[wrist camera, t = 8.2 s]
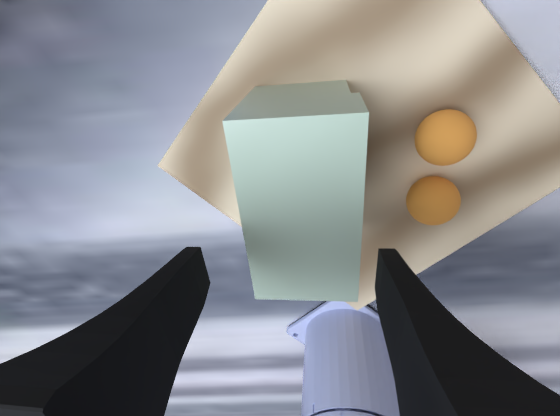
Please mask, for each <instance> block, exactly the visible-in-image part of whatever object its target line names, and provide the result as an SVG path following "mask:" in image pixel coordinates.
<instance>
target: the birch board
mask: <svg viewBox="0 0 560 416" xmlns="http://www.w3.org/2000/svg"><path fill="white" fill-rule="evenodd" d="M336 80H346V81H347V84H348V87H349V90H350V92H351V93H358V92H360V94H361V96H362V99H363V101H364V103H365V105H366V107H367V109H368V111H369V122H368V139H367V156H366V173H365V191H364V208H363V225H362V242H361V260H360V277H359V294H358V302H346V303H347V304H349V305H350V306H352V307H353V308H354V309H356V310H357V311H358V310H359V309H361V308H362V307H364V306H366V305H367V304H369V303H371V302H372V301H374V300H376V294H375V278H376V268H377V258H378V248H391V249H396V250H397V251H398V252H399V254H400V255H401V256H402V258H403V259H404V260H405V262H406V263H407V264H408V266H409V267H410V268H411V270H412V271H413V272H414V273H415V275H417V274H418V273H420V272H422V271H423V270H425V269H427V268H428V267H430V266H432V265H433V264H435V263H436V262H438V261H440V260H441V259H443V258H445V257H446V256H448V255H450V254H451V253H453V252H455V251H456V250H458V249H459V248H461V247H463V246H464V245H466V244H468V243H469V242H471V241H473V240H474V239H476V238H478V237H479V236H481V235H482V234H484V233H486V232H487V231H489V230H491V229H492V228H494V227H496V226H497V225H499V224H501V223H502V222H504V221H506V220H507V219H509V218H510V217H512V216H514V215H515V214H517V213H519V212H520V211H522V210H524V209H525V208H527V207H529V206H530V205H532V204H533V203H535V202H537V201H538V200H540V199H542V198H543V197H545V196H547V195H548V194H550V193H552V192H553V191H555V190H556V189H558V188H560V103H559V102H558V101H557V99H556V98H555V97H554V95H553V94H552V93H551V91H550V90H549V89H548V88H547V86H546V85H545V84H544V82H543V81H542V80H541V79H540V77H539V76H538V75H537V73H536V72H535V71H534V70H533V68H532V67H531V66H530V64H529V63H528V62H527V60H526V59H525V58H524V57H523V55H522V54H521V53H520V51H519V50H518V49H517V48H516V46H515V45H514V44H513V42H512V41H511V40H510V39H509V37H508V36H507V35H506V33H505V32H504V31H503V30H502V28H501V27H500V26H499V24H498V23H497V22H496V20H495V19H494V18H493V17H492V15H491V14H490V13H489V11H488V10H487V9H486V8H485V6H484V5H483V4H482V2H481V1H480V0H268V1H267V3H266V4H265V6H264V7H263V9H262V10H261V12H260V13H259V15H258V16H257V18H256V19H255V21H254V22H253V24H252V25H251V27H250V28H249V30H248V31H247V33H246V34H245V36H244V37H243V39H242V40H241V42H240V43H239V45H238V46H237V48H236V49H235V51H234V52H233V54H232V55H231V56H230V58H229V59H228V61H227V62H226V64H225V65H224V67H223V68H222V70H221V71H220V73H219V74H218V76H217V77H216V79H215V80H214V82H213V83H212V85H211V86H210V88H209V89H208V91H207V92H206V94H205V95H204V97H203V98H202V100H201V101H200V103H199V104H198V106H197V107H196V109H195V110H194V112H193V113H192V115H191V116H190V118H189V119H188V121H187V122H186V124H185V125H184V127H183V128H182V130H181V131H180V133H179V134H178V136H177V137H176V139H175V140H174V142H173V143H172V145H171V146H170V148H169V149H168V151H167V152H166V154H165V155H164V157H163V158H162V160H161V161H160V163H159V164H158V166H159V167H160V168H161V169H163V170H164V171H165V172H167V173H168V174H170V175H171V176H172V177H174V178H175V179H176V180H178V181H179V182H181V183H182V184H183V185H185V186H186V187H187V188H189V189H190V190H192V191H193V192H194V193H196V194H197V195H199V196H200V197H201V198H203V199H204V200H205V201H207V202H208V203H210V204H211V205H212V206H214V207H215V208H216V209H218V210H219V211H221V212H222V213H223V214H225V215H226V216H227V217H229V218H230V219H232V220H233V221H234V222H236V223H237V224H239V225H240V226H241V227H242V224H241V219H240V214H239V208H238V203H237V197H236V192H235V187H234V181H233V176H232V171H231V165H230V160H229V154H228V149H227V144H226V138H225V133H224V127H223V122H222V121H223V120H224V119H225V118H226V117H227V115H228V114H229V113H230V112H231V111H232V110H233V109H234V108H235V107H236V106H237V105H238V104H239V103H240V102H241V101H242V100H243V99H244V98H245V97H246V95H247V94H248V93H249V92H250V91H251V90H252V89H253V88H254V87H255V86H268V85H282V84H295V83H309V82H322V81H336ZM445 109H452V110H458V111H461V112H463V113H465V114H466V115H468V116H469V117H470V118H471V119H472V121H473V122H474V124H475V126H476V130H477V139H476V143H475V146H474V148H473V149H472V151H471V152H470V154H469V155H468V156H467V157H465V158H464V159H463V160H461V161H459V162H457V163H455V164H452V165H447V166H438V165H433V164H431V163H428V162H427V161H425V160H424V159H423V158H422V157H421V156H420V155H419V154H418V152H417V150H416V147H415V133H416V131H417V128H418V126H419V125H420V123H421V122H422V121H423V120H424V119H425V118H426V117H427V116H429V115H430V114H432V113H434V112H437V111H440V110H445ZM429 176H438V177H442V178H445V179H447V180H449V181H451V182H452V183H453V184H454V185H455V186H456V187H457V189H458V191H459V193H460V197H461V204H460V208H459V210H458V212H457V214H456V215H455V216H454V217H453V218H452V219H451V220H450V221H448V222H446V223H444V224H440V225H426V224H423V223H420V222H419V221H417V220H416V219H414V218H413V217H412V216H411V214H410V213H409V211H408V209H407V205H406V197H407V193H408V191H409V189H410V188H411V186H412V185H413V184H414V183H415V182H417V181H418V180H420V179H422V178H425V177H429Z"/></svg>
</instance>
